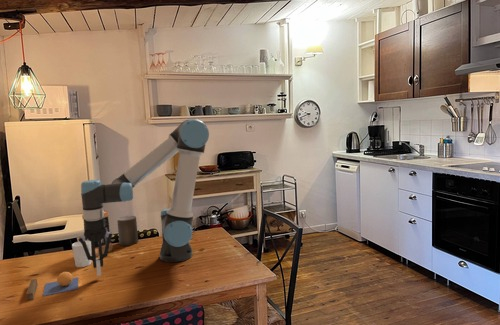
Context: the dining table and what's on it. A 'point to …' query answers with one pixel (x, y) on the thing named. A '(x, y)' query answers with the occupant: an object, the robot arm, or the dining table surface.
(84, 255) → the white cup
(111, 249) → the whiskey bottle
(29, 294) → the brown wooden bar
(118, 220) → the pillar candle
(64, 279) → the ball
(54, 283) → the navy mark
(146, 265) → the dining table surface
